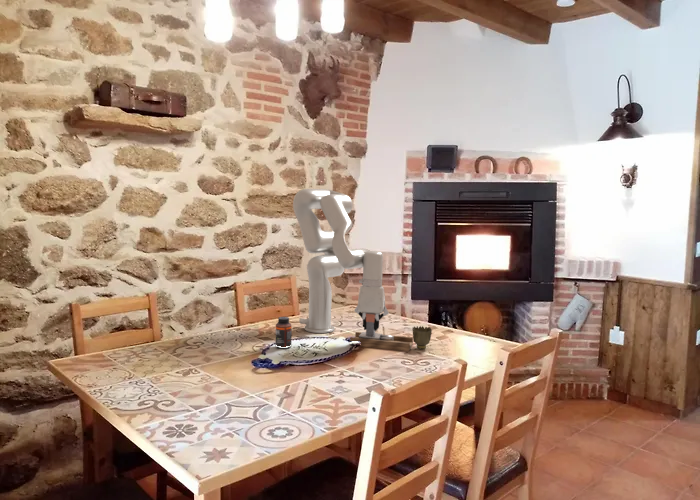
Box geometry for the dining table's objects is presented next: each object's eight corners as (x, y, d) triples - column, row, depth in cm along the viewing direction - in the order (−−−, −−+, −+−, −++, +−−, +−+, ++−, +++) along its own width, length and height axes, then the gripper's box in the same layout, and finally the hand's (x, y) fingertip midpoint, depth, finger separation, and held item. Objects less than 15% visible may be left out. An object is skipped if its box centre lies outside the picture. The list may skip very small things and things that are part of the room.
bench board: (349, 345, 216) (349, 338, 216) (356, 338, 226) (356, 331, 225) (408, 351, 210) (409, 343, 210) (412, 344, 220) (413, 337, 220)
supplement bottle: (292, 345, 213) (293, 316, 212) (289, 350, 207) (290, 320, 206) (277, 344, 214) (277, 315, 213) (273, 349, 208) (274, 319, 207)
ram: (358, 340, 217) (359, 314, 216) (362, 336, 223) (363, 310, 222) (391, 344, 214) (392, 317, 213) (394, 340, 220) (395, 313, 218)
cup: (432, 351, 210) (433, 331, 209) (412, 351, 211) (413, 330, 210) (429, 346, 218) (430, 326, 217) (410, 345, 218) (411, 325, 217)
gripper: (349, 283, 215) (347, 329, 217) (391, 286, 211) (389, 333, 213) (354, 280, 222) (352, 325, 224) (395, 283, 218) (393, 329, 220)
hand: (370, 329), depth 218 cm, fingers closed on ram, 3 cm apart
